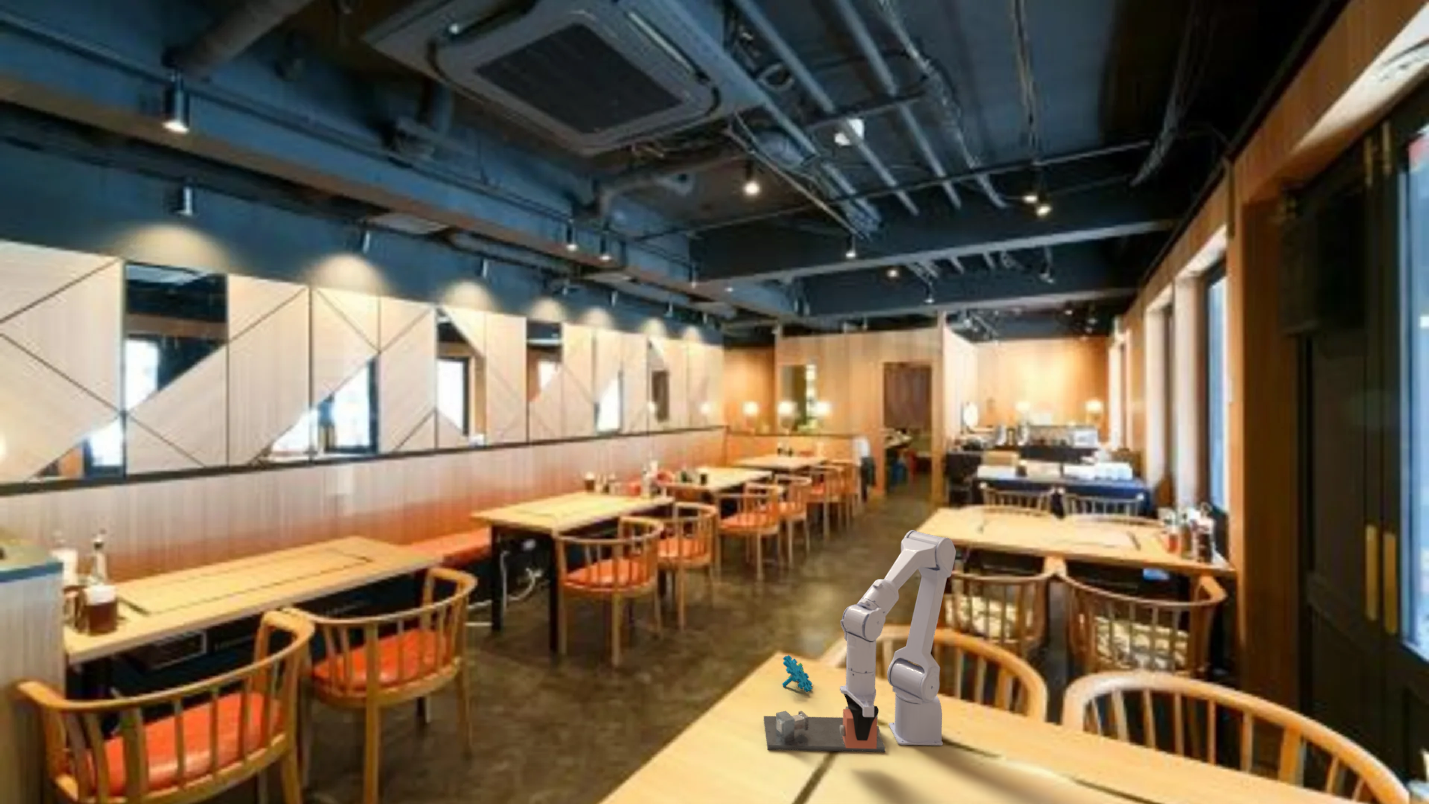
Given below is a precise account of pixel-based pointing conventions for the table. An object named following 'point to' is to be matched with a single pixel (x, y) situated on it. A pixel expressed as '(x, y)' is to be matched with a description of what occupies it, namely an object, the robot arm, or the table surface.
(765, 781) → the table surface
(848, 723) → the block
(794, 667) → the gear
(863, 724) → the robot arm
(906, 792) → the table surface
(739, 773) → the table surface
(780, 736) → the stand
